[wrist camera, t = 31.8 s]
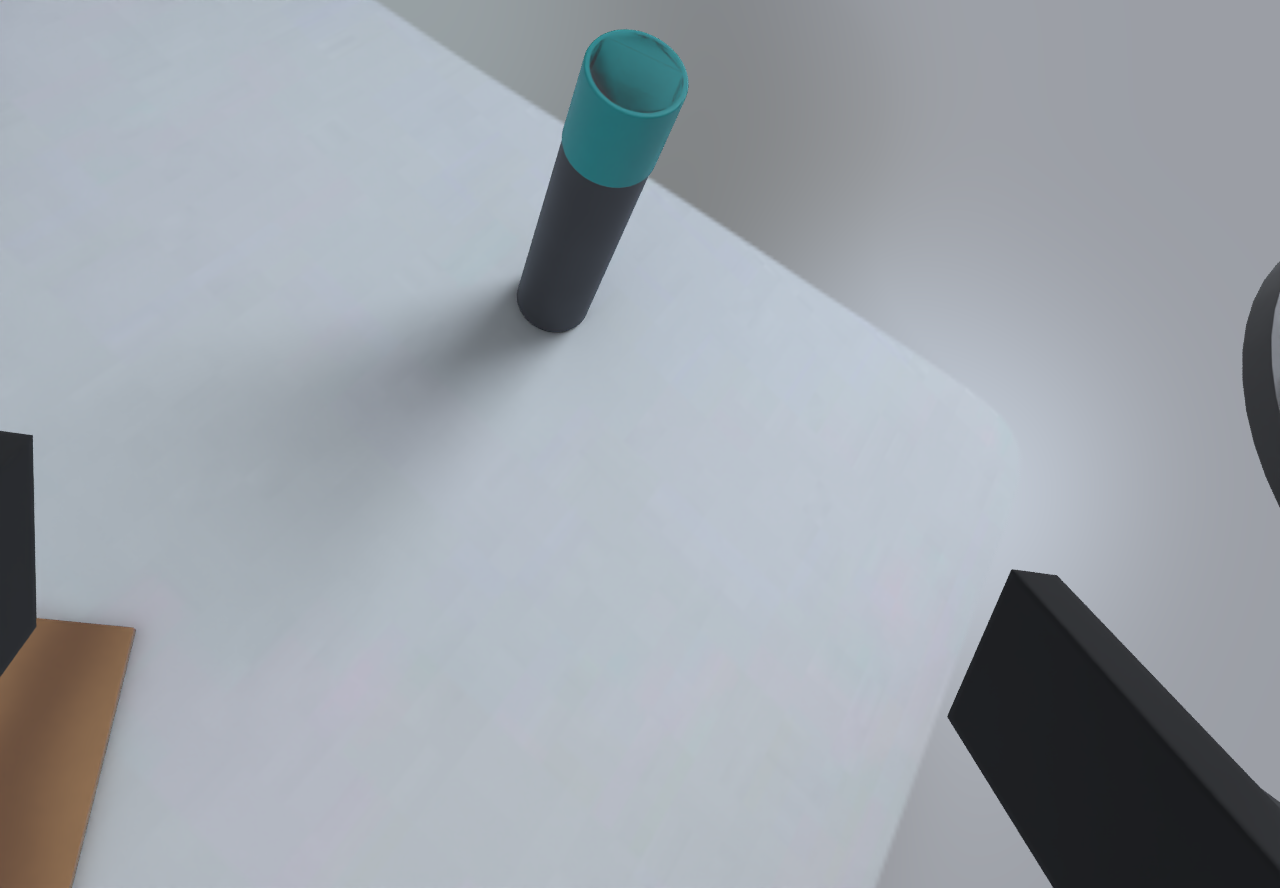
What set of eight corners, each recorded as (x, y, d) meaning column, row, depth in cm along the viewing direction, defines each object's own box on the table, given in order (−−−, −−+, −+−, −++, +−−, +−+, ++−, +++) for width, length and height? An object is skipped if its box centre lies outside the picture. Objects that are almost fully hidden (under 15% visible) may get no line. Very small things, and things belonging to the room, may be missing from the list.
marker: (592, 274, 36) (691, 42, 25) (586, 340, 35) (686, 128, 24) (519, 261, 35) (588, 17, 24) (511, 327, 34) (579, 103, 23)
